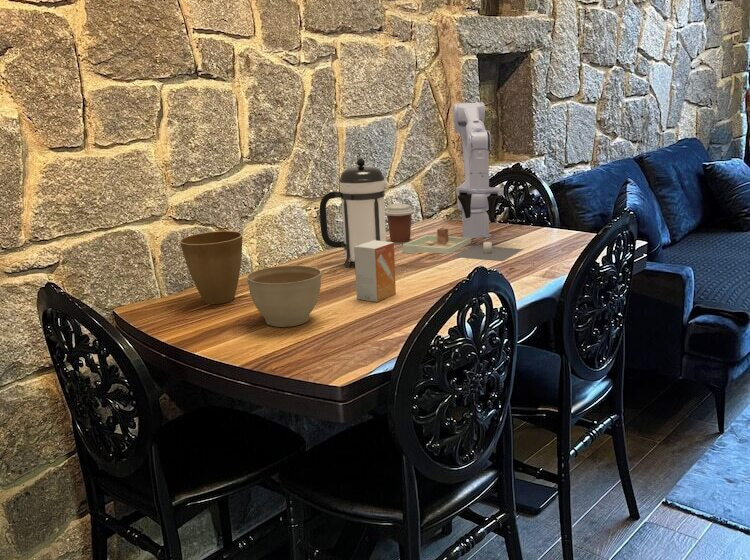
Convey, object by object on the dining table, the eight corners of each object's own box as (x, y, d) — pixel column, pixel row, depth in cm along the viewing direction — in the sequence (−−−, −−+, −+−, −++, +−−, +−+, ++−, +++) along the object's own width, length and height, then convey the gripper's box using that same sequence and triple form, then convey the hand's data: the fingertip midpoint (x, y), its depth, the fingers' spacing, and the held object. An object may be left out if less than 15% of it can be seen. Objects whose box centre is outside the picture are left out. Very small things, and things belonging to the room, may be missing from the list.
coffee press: (371, 254, 218) (366, 154, 210) (402, 263, 205) (397, 157, 197) (322, 264, 209) (314, 160, 201) (350, 274, 196) (343, 163, 188)
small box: (377, 302, 169) (374, 248, 165) (356, 299, 172) (353, 246, 169) (396, 294, 175) (394, 241, 172) (375, 290, 179) (373, 239, 175)
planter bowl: (314, 333, 149) (310, 283, 147) (240, 332, 152) (235, 283, 149) (332, 310, 165) (329, 264, 162) (265, 310, 168) (260, 264, 165)
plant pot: (214, 289, 187) (207, 229, 183) (260, 294, 180) (254, 232, 176) (174, 305, 175) (166, 241, 170) (222, 311, 168) (215, 245, 164)
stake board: (473, 248, 219) (473, 235, 218) (524, 252, 211) (524, 239, 210) (450, 259, 206) (450, 246, 205) (502, 264, 198) (502, 250, 197)
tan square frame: (430, 242, 227) (430, 227, 226) (459, 245, 222) (459, 229, 220) (415, 249, 219) (414, 233, 218) (444, 252, 214) (444, 235, 212)
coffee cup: (380, 243, 232) (378, 207, 229) (398, 238, 239) (396, 202, 236) (402, 246, 227) (401, 209, 223) (420, 241, 233) (418, 204, 230)
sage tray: (426, 242, 231) (426, 234, 230) (471, 246, 222) (471, 238, 222) (402, 252, 218) (402, 244, 217) (448, 256, 210) (448, 248, 209)
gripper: (450, 174, 213) (451, 219, 216) (496, 175, 205) (496, 221, 209) (461, 171, 218) (462, 215, 222) (506, 172, 211) (506, 217, 214)
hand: (479, 218), depth 216 cm, fingers open, 7 cm apart
